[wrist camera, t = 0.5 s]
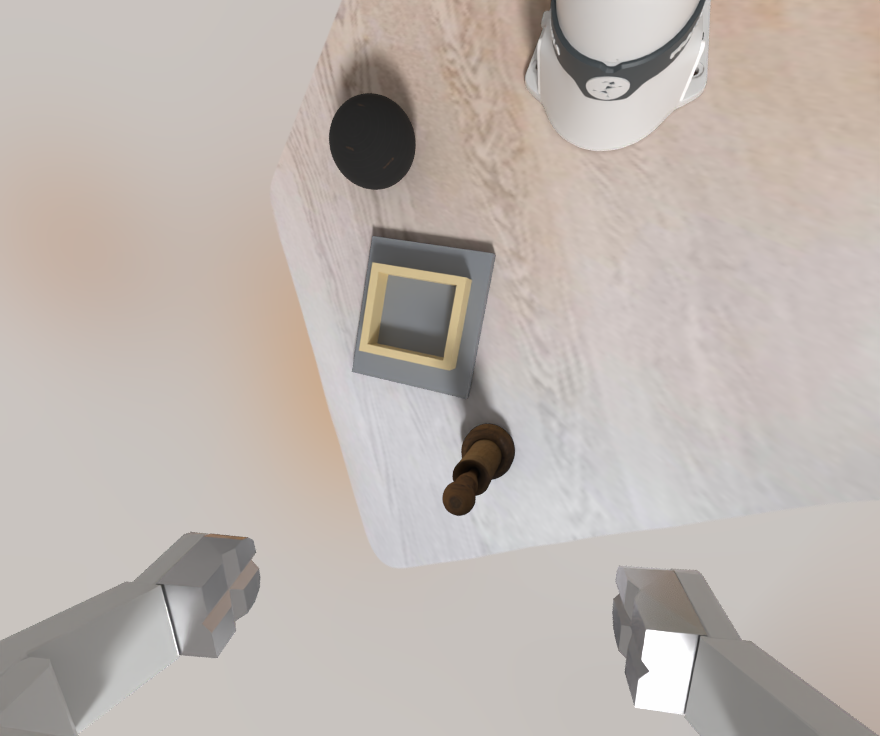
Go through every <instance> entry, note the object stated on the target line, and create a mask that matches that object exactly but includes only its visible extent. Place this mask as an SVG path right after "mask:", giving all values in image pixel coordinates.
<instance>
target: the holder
mask: <svg viewBox="0 0 880 736" xmlns="http://www.w3.org/2000/svg"><path fill="white" fill-rule="evenodd" d="M495 256H496V255H495V254H494V253H487V252H480V251H473V250H466V249H459V248H452V247H445V246H438V245H431V244H425V243H418V242H411V241H404V240H397V239H390V238H383V237H376V236H372V243H371V249H370V256H369V263H368V269H367V276H366V282H365V289H364V296H363V302H362V309H361V316H360V322H359V329H358V335H357V342H356V349H355V355H354V362H353V368H352V372H355V373H359V374H363V375H368V376H372V377H376V378H380V379H385V380H389V381H393V382H397V383H401V384H406V385H410V386H414V387H418V388H423V389H427V390H431V391H435V392H439V393H444V394H448V395H452V396H456V397H461V398H465V399H466V398H467V397H468V396H469V391H470V386H471V381H472V375H473V370H474V365H475V360H476V355H477V349H478V344H479V339H480V334H481V329H482V324H483V318H484V313H485V308H486V303H487V298H488V292H489V287H490V282H491V277H492V272H493V267H494V261H495Z"/></svg>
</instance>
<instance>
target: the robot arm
mask: <svg viewBox="0 0 880 736" xmlns="http://www.w3.org/2000/svg"><path fill="white" fill-rule="evenodd" d="M710 3H711V0H552V1H551V8H550V11H545V12H544V14H543V17H542V22H541V27H542V28H543V30H542V32H541V35H540V38H539V40H538V43H537V46H536V48H535V51H534V54H533V56H532V59H531V61H530V64H529V67H528V69H527V72H526V75H525V86H526V88H527V90H528V91H529V92H530V93H531V94H532V95H533V96H534V97H535V98H536V99H537V100H539V101H540V102H541V104H542V105H543V107H544V109H545V111H546V114H547V116H548V119H549V121H550V123H551V124H552V126H553V127H554V129H555V130H556V131H557V133H558V134H559V135H560V136H561V137H563V138H564V139H565V140H566V141H568V142H569V143H571V144H573V145H575V146H577V147H580V148H583V149H587V150H593V151H609V150H616V149H620V148H623V147H626V146H629V145H631V144H633V143H636V142H637V141H639V140H641V139H643V138H644V137H646V136H647V135H649V134H650V133H651V132H652V131H654V130H655V129H656V128H657V127H658V126H659V125H660V124H661V123H662V122H663V121H664V120H665V119H666V118H667V117H668V116H669V115H670V114H671V113H672V112H673V111H674V110H675V109H677V108H679V107H681V106H683V105H685V104H687V103H689V102H691V101H693V100H694V99H696V98H697V97H698V96H700V95H701V94H702V92H703V91H704V88H705V86H706V83H707V69H708V47H709V25H710ZM537 67H538V70H536V69H537ZM695 71H696V72H697V75H695V76H693V74H694V72H695ZM255 553H256V550H255V545H254V541H253V540H252V539H250V538H248V537H239V536H229V535H220V534H206V533H195V532H190V533H187V534H184V535H183V536H182V537H181V538H180V539H178V540H177V541H176V542H175V543H174V544H173V545H172V546H171V547H170V548H169V549H168V550H167V551H166V552H164V553H163V554H162V555H161V556H160V557H159V558H158V559H157V560H156V561H155V562H154V563H153V564H152V565H150V566H149V567H148V568H147V569H146V570H145V571H144V572H143V573H142V574H141V575H140V576H139V577H137V578H136V579H135V580H134V581H133V582H124V583H122V584H120V585H118V586H116V587H114V588H112V589H110V590H107V591H105V592H103V593H101V594H99V595H97V596H95V597H93V598H90V599H88V600H86V601H84V602H82V603H80V604H78V605H75V606H73V607H71V608H69V609H67V610H65V611H63V612H60V613H58V614H56V615H54V616H52V617H50V618H48V619H46V620H43V621H42V622H39V623H37V624H35V625H33V626H31V627H29V628H26V629H25V630H22V631H20V632H18V633H16V634H14V635H11V636H10V637H7V638H5V639H3V640H1V641H0V736H78V734H79V733H80V732H82V731H83V730H84V729H86V728H87V727H88V726H89V725H91V724H92V723H93V722H95V721H96V720H97V719H99V718H100V717H101V716H103V715H104V714H105V713H106V712H108V711H109V710H110V709H112V708H113V707H115V706H116V705H117V704H119V703H120V702H121V701H122V700H124V699H125V698H126V697H128V696H129V695H130V694H132V693H133V692H134V691H136V690H137V689H138V688H140V687H141V686H142V685H144V684H145V683H146V682H148V681H149V680H150V679H151V678H153V677H154V676H155V675H157V674H158V673H159V672H160V671H162V670H163V669H165V668H166V667H167V666H169V665H170V664H171V663H173V662H174V661H175V660H177V659H178V658H179V655H185V656H197V657H210V658H218V656H219V655H220V653H221V652H222V650H223V649H224V647H225V646H226V644H227V643H228V642H229V640H230V639H231V637H232V635H233V634H234V633H235V631H236V623H235V621H236V620H238V619H239V618H241V617H242V616H244V615H245V614H247V613H248V612H249V610H250V609H251V607H252V606H253V604H254V602H255V600H256V597H257V594H258V591H259V588H260V572H259V568H258V567H257V566H256V564H255V563H254V562H253V561H252V560H251V559H252V558H253V556H254V555H255ZM616 584H617V587H618V590H619V595H617V596H616V597H615V598H614V599H613V611H612V614H613V629H614V634H615V639H616V643H617V647H618V650H619V652H620V653H621V654H622V655H623V656H624V657H625V658H626V665H625V675H626V678H627V682H628V685H629V689H630V692H631V696H632V699H633V703H634V706H635V707H636V708H642V709H649V710H656V711H663V712H669V713H676V714H683V715H685V719H686V720H687V721H688V722H689V723H690V725H691V726H692V727H693V728H694V729H695V730H696V732H697V733H698V734H699V735H700V736H878V735H877V734H876V733H874V732H873V731H872V730H870V729H869V728H868V727H866V726H865V725H864V724H862V723H861V722H860V721H858V720H857V719H855V718H854V717H853V716H851V715H850V714H849V713H847V712H846V711H845V710H843V709H842V708H840V707H839V706H838V705H837V704H835V703H834V702H833V701H831V700H830V699H828V698H827V697H826V696H824V695H823V694H822V693H820V692H819V691H818V690H816V689H815V688H814V687H812V686H811V685H809V684H808V683H807V682H805V681H804V680H803V679H801V678H800V677H799V676H797V675H796V674H795V673H793V672H792V671H790V670H789V669H788V668H786V667H785V666H784V665H782V664H781V663H780V662H778V661H777V660H776V659H774V658H773V657H772V656H770V655H769V654H767V653H766V652H765V651H763V650H762V649H761V648H759V647H758V646H756V645H755V644H754V643H753V642H751V641H746V640H742V639H741V638H740V636H739V635H738V633H737V631H736V630H735V628H734V626H733V625H732V623H731V621H730V620H729V618H728V616H727V615H726V613H725V611H724V610H723V608H722V607H721V605H720V603H719V602H718V600H717V598H716V597H715V595H714V593H713V592H712V590H711V588H710V587H709V585H708V583H707V582H706V580H705V578H704V577H703V575H702V574H701V573H700V572H699V571H697V570H686V569H685V570H684V569H660V568H644V567H631V566H619V567H618V570H617V574H616Z"/></svg>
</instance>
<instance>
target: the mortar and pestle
mask: <svg viewBox="0 0 880 736" xmlns="http://www.w3.org/2000/svg"><path fill="white" fill-rule="evenodd" d="M461 453H462V459H461V461H460V462H459V463H458V464H457V465H456V467H455V468H454V471H453V481H454V482H452V483H450V484H449V485H448V486H447V487H446V488H445V490H444V493H443V504H444V506H445V508H446V510H447V511H448V512H450V513H451V514H453V515H457V516H461V515H465V514H467V513H468V512H470V511H471V509H472V508H473V506H474V504H475V496H477V495H480V494H482V493H484V492H485V491H486V490H487V488H488V486H489V484H490V482H491V480H492V479H496V478H499V477H501V476H502V475H504V474H505V473H506V472H507V471H508V470H509V468H510V466H511V464H512V462H513V460H514V456H515V447H514V443H513V441H512V439H511V437H510V435H509V434H508V433H507V432H506V431H505V430H504V429H502V428H501V427H499V426H497V425H493V424H482V425H479V426H477V427H475V428H474V429H472V430H471V431H470V433H469V434H468V435H467V436H466V438H465V440H464V442H463V445H462V451H461Z"/></svg>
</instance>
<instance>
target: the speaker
mask: <svg viewBox="0 0 880 736" xmlns="http://www.w3.org/2000/svg"><path fill="white" fill-rule="evenodd" d="M329 143H330V150H331V154H332V157H333V159H334V161H335V163H336V165H337V167H338V168H339V170H340V171H341V173H342V174H343V175H344V176H345V177H346V178H347V179H348V180H350V181H351V182H353V183H354V184H356V185H358V186H360V187H363V188H366V189H373V190H378V189H384V188H388V187H390V186H392V185H394V184H396V183H397V182H399V181H400V180H401V179H402V178H403V177H404V176H405V175H406V174H407V172H408V171H409V169H410V167H411V165H412V162H413V159H414V155H415V135H414V130H413V127H412V124H411V122H410V120H409V118H408V116H407V115H406V113H405V112H404V111H403V110H402V108H401V107H400V106H399V105H397V104H396V103H395V102H394V101H392V100H391V99H389V98H387V97H385V96H382V95H378V94H372V93H367V94H360V95H357V96H354V97H352V98H350V99H349V100H347V101H346V102H345V103H344V104H343V105H342V106H341V107H340V108H339V109H338V110H337V112H336V114H335V116H334V118H333V120H332V123H331V127H330V133H329Z"/></svg>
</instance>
